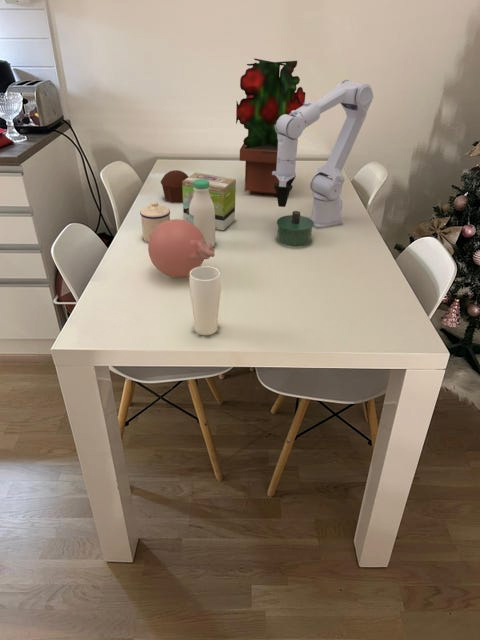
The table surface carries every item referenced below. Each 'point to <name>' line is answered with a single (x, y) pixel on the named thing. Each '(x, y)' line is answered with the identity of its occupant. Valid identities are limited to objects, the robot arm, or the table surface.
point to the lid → (295, 222)
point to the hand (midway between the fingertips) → (283, 202)
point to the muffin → (173, 186)
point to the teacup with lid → (153, 218)
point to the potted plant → (265, 119)
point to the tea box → (213, 197)
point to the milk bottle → (203, 210)
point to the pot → (294, 237)
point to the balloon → (178, 248)
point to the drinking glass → (205, 298)
